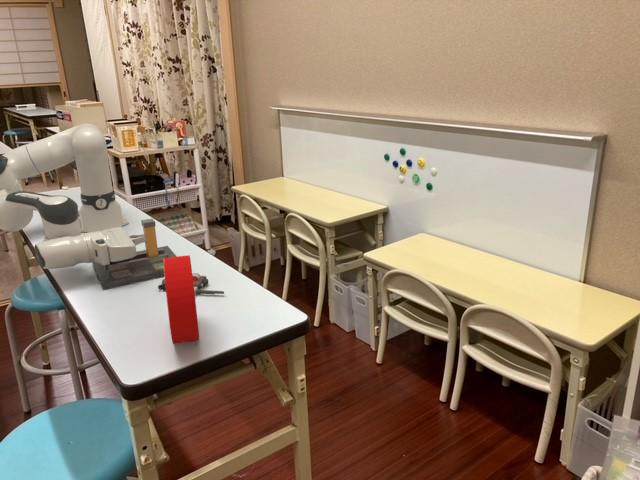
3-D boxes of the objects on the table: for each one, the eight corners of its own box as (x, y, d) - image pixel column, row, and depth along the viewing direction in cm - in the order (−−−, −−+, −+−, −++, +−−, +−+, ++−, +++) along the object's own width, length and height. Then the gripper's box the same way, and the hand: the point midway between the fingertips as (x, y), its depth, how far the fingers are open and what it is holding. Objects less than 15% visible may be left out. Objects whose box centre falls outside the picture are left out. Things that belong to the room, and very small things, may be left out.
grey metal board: (92, 266, 161) (90, 254, 160) (168, 251, 173) (166, 240, 171) (103, 289, 145) (100, 277, 144) (185, 271, 156) (184, 260, 155)
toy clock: (201, 356, 113) (192, 275, 106) (174, 361, 112) (163, 279, 105) (195, 314, 131) (188, 243, 124) (172, 318, 130) (163, 245, 123)
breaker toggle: (146, 258, 161) (141, 220, 156) (157, 256, 162) (152, 218, 158) (148, 261, 158) (143, 223, 154) (159, 259, 160) (155, 221, 155)
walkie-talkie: (154, 295, 143) (223, 299, 140) (152, 281, 141) (222, 284, 139) (167, 281, 151) (232, 285, 148) (165, 268, 149) (231, 271, 147)
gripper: (94, 245, 160) (139, 237, 166) (104, 267, 143) (154, 257, 150) (90, 226, 157) (136, 219, 164) (101, 247, 141) (151, 238, 147)
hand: (145, 237), depth 157 cm, fingers closed
